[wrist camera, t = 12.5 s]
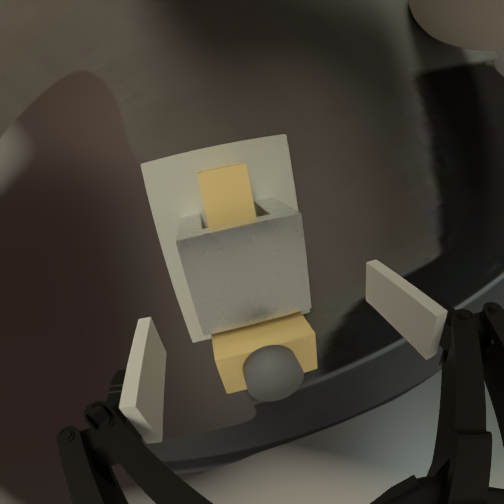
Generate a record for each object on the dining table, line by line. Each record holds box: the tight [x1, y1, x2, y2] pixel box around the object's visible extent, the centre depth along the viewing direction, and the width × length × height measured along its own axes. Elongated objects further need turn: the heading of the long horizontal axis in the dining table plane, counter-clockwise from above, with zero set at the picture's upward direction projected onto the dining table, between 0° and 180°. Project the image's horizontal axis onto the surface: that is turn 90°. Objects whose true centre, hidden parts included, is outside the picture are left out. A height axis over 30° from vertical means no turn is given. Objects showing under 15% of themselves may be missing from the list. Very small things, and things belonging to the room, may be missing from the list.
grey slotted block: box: [176, 197, 311, 336], centre depth 25 cm, size 8×9×8 cm
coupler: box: [197, 163, 317, 402], centre depth 23 cm, size 17×8×12 cm, turn 10°
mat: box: [141, 134, 310, 342], centre depth 29 cm, size 20×14×1 cm
